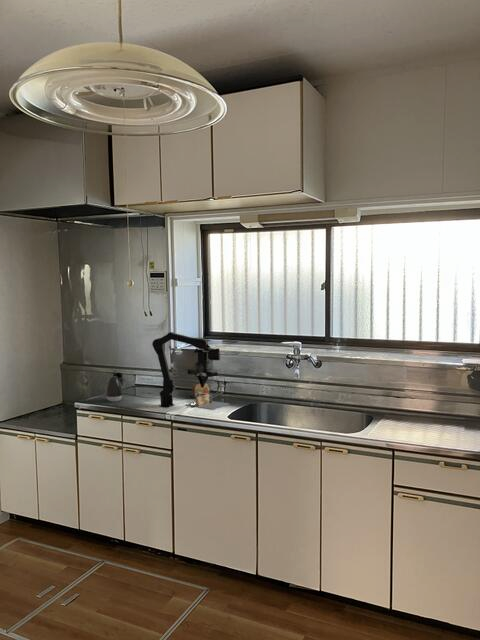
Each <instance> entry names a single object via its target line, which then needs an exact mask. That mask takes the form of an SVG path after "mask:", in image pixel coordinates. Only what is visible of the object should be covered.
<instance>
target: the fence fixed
mask: <svg viewBox="0 0 480 640" xmlns="http://www.w3.org/2000/svg"><path fill="white" fill-rule="evenodd" d="M204 395H207V393H200V392H197V397H200V396H204ZM209 395H210V396H209V403H212V401H213V400H212V397H213V396H212V393H211V392H210V393H209Z"/></svg>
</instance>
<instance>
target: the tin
mask: <svg viewBox="0 0 480 640" xmlns="http://www.w3.org/2000/svg"><path fill="white" fill-rule="evenodd" d="M197 392H200V393H207V394H209V393H211V386H210V384H209V383H208V382H206V383H205V385H204V387H203V388H202V387H201V385H200V383H198V384H194V385H193V386H192V387H191V394H192V395H191V396H192V397H193V398H195V399H196V397H197Z"/></svg>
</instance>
